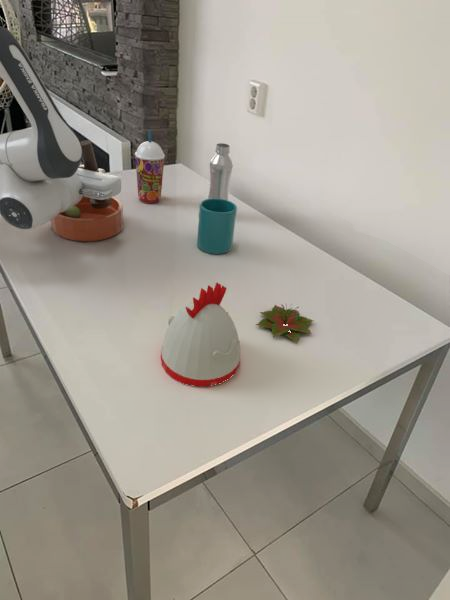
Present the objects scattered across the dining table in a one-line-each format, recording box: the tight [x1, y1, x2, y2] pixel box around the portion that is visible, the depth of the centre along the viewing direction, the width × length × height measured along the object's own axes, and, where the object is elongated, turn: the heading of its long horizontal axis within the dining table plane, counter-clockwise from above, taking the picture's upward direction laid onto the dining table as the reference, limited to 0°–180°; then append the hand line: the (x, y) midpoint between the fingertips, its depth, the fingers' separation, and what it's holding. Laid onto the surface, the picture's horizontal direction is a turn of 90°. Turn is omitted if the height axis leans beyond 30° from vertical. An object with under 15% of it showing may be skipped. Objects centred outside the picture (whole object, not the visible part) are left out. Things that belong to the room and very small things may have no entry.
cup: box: [196, 198, 238, 255], centre depth 113 cm, size 9×12×11 cm
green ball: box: [64, 206, 81, 219], centre depth 117 cm, size 4×4×4 cm
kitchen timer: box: [160, 282, 241, 387], centre depth 76 cm, size 14×14×15 cm
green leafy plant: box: [255, 303, 314, 344], centre depth 89 cm, size 12×12×5 cm
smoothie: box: [134, 130, 166, 204], centre depth 130 cm, size 8×8×20 cm
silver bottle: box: [207, 142, 234, 201], centre depth 126 cm, size 6×7×20 cm
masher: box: [80, 139, 111, 209], centre depth 110 cm, size 5×5×16 cm
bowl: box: [50, 196, 124, 243], centre depth 116 cm, size 18×18×6 cm
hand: (93, 170), depth 110 cm, fingers closed on masher, 3 cm apart
